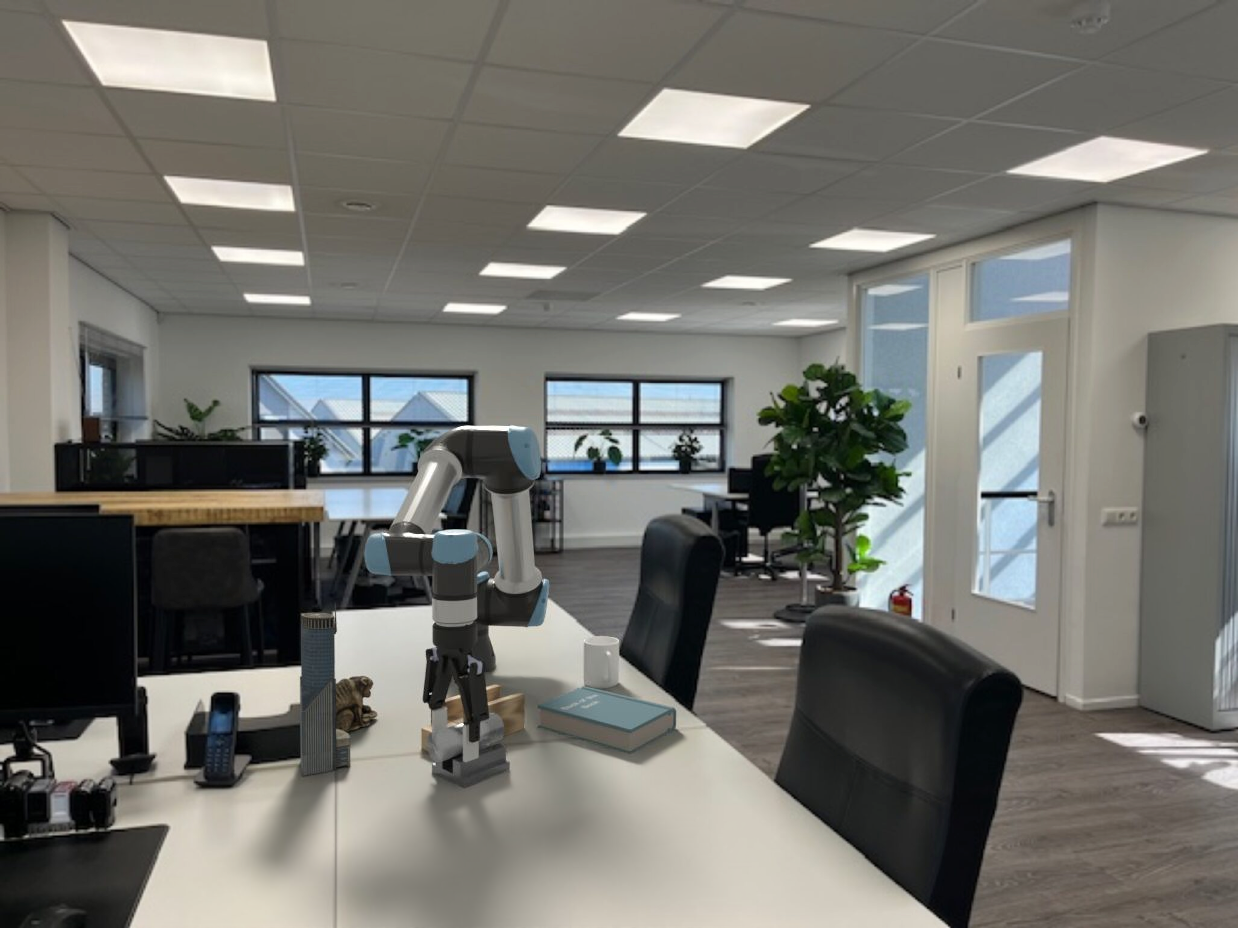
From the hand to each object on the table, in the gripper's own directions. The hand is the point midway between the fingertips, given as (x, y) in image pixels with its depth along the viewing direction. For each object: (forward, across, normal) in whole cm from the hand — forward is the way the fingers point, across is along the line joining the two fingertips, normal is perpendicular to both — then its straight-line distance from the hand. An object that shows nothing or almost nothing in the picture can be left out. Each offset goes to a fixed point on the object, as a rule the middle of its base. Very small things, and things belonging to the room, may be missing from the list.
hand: (454, 752), depth 145 cm
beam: (+4, +13, -14) cm, 19 cm away
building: (+5, +21, +14) cm, 25 cm away
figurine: (+5, +34, 0) cm, 34 cm away
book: (+5, -3, -35) cm, 36 cm away
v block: (+4, 0, -4) cm, 6 cm away
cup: (+5, +16, -54) cm, 57 cm away
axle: (-2, 0, -3) cm, 3 cm away
